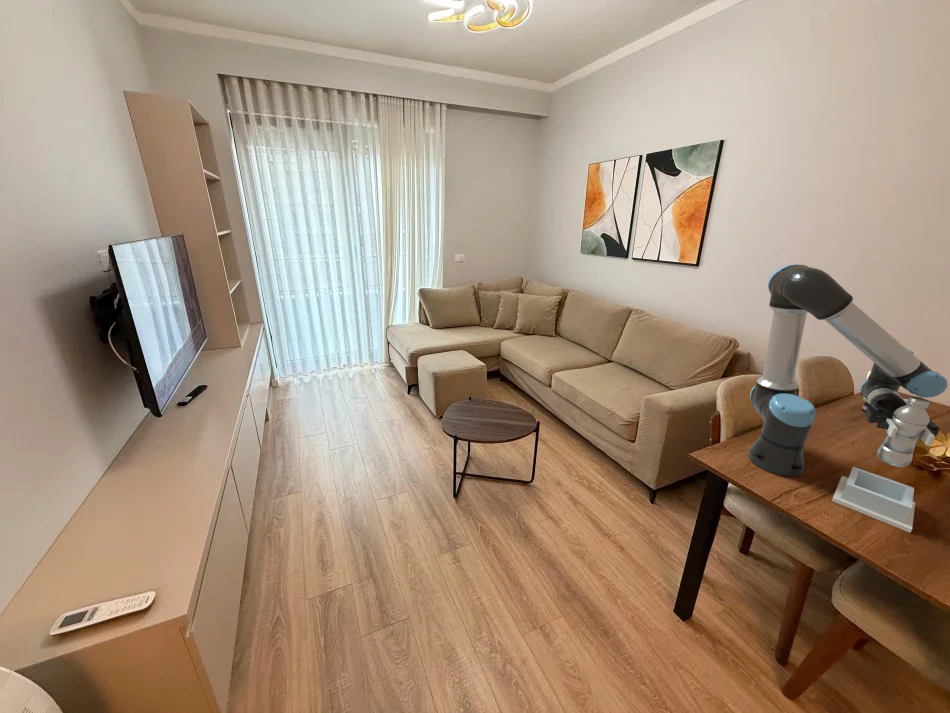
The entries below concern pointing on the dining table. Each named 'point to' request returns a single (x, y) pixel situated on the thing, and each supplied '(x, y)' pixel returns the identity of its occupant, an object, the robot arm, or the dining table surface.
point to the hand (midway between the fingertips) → (912, 437)
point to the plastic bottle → (905, 432)
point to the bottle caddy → (877, 498)
